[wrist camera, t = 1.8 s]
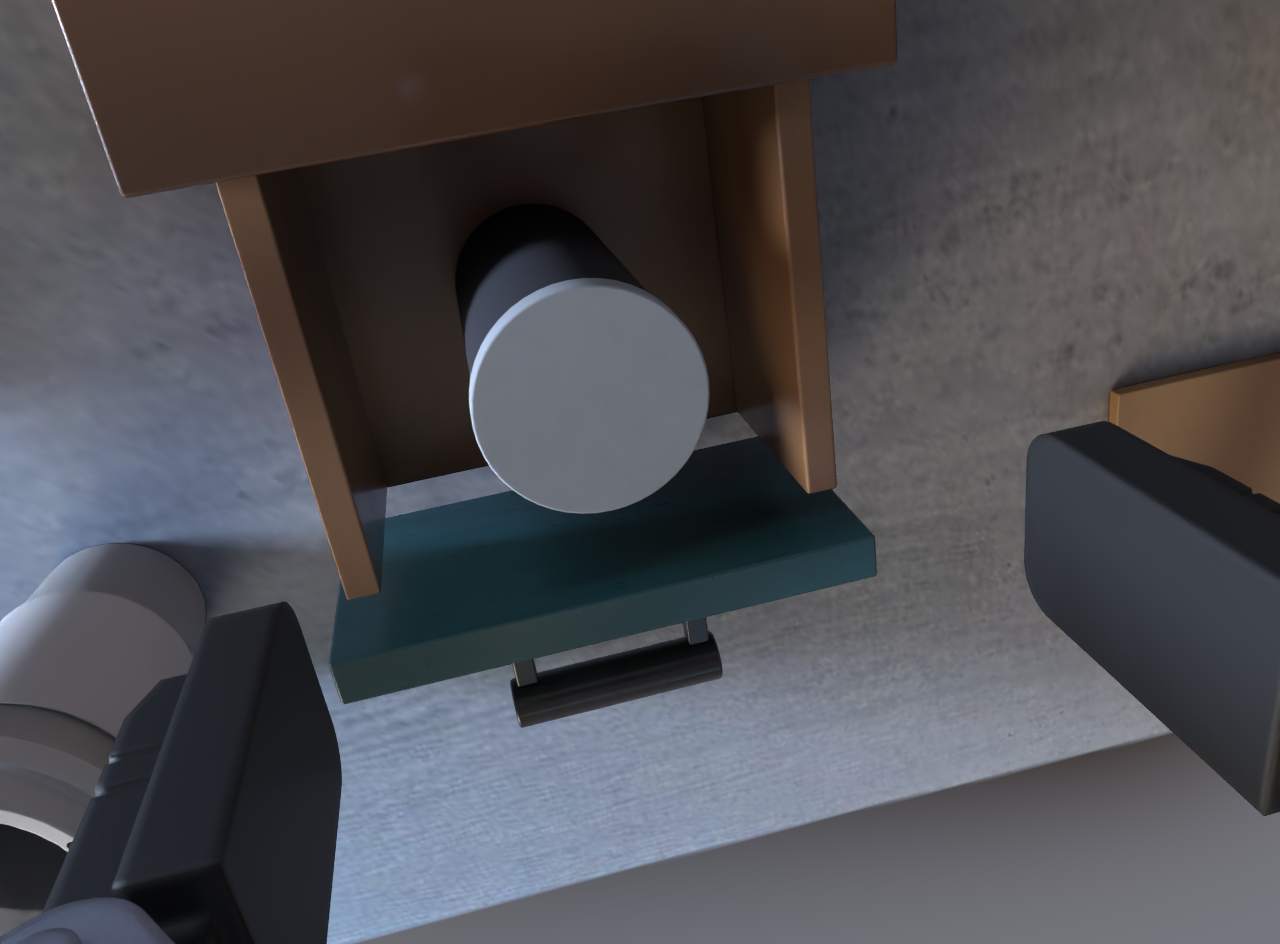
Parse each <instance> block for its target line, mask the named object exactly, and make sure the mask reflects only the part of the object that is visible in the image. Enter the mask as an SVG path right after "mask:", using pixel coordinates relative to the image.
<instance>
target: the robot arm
mask: <svg viewBox="0 0 1280 944" xmlns="http://www.w3.org/2000/svg"><path fill="white" fill-rule="evenodd" d="M1024 564H1025V572H1026V577H1027V581H1028V584H1029V587H1030V590H1031V592H1032V594H1033V596H1034V599H1035V601H1036V602H1037V604H1038V606H1039V607H1040V608H1041V610H1042V611H1043V612H1044V613H1045V614H1046V616H1047V617H1048V618H1050V619H1051V620H1052V621H1053V622H1054V623H1055V624H1056V625H1057V626H1058V627H1059V628H1060V629H1061V630H1063V631H1064V632H1065V633H1066V634H1067V635H1068V636H1069V637H1070V638H1071V639H1072V640H1073V641H1074V642H1076V643H1077V644H1078V645H1079V646H1080V647H1081V648H1082V649H1083V650H1084V651H1085V652H1086V653H1087V654H1089V655H1090V656H1091V657H1092V658H1093V659H1094V660H1095V661H1096V662H1097V663H1098V664H1099V665H1101V666H1102V667H1103V668H1104V669H1105V670H1106V671H1107V672H1108V673H1109V674H1110V675H1111V676H1112V677H1114V678H1115V679H1116V680H1117V681H1118V682H1119V683H1120V684H1121V685H1122V686H1123V687H1124V688H1125V689H1127V690H1128V691H1129V692H1130V693H1131V694H1132V695H1133V696H1134V697H1135V698H1136V699H1137V700H1138V701H1140V702H1141V703H1142V704H1143V705H1144V706H1145V707H1146V708H1147V709H1148V710H1149V711H1150V712H1151V713H1153V714H1154V715H1155V716H1156V717H1157V718H1158V719H1159V720H1160V721H1161V722H1162V723H1163V724H1164V725H1166V726H1167V727H1168V728H1169V729H1170V730H1171V731H1172V732H1173V733H1174V734H1175V735H1176V736H1178V737H1179V738H1180V739H1181V740H1182V741H1183V742H1184V743H1185V744H1186V745H1187V746H1188V747H1189V748H1191V749H1192V750H1193V751H1194V752H1195V753H1196V754H1197V755H1198V756H1199V757H1200V758H1201V759H1202V760H1204V761H1205V762H1206V763H1207V764H1208V765H1209V766H1210V767H1211V768H1212V769H1213V770H1214V771H1216V772H1217V773H1218V774H1219V775H1220V776H1221V777H1222V778H1223V779H1224V780H1225V781H1226V782H1227V783H1228V784H1230V785H1231V786H1232V787H1233V788H1234V789H1235V790H1236V791H1237V792H1238V793H1239V794H1240V795H1242V796H1243V797H1244V798H1245V799H1246V800H1247V801H1248V802H1249V803H1250V804H1251V805H1252V806H1253V807H1254V808H1256V809H1257V810H1258V811H1259V812H1260V813H1261V814H1262V815H1263V816H1266V815H1270V814H1273V813H1277V812H1280V504H1279V503H1278V502H1276V501H1274V500H1272V499H1270V498H1268V497H1267V496H1265V495H1263V494H1261V493H1257V494H1253V492H1252V488H1250V487H1248V486H1246V485H1245V484H1243V483H1241V482H1239V481H1237V480H1235V479H1234V478H1232V477H1230V476H1228V475H1226V474H1224V473H1223V472H1221V471H1219V470H1217V469H1215V468H1213V467H1210V466H1207V465H1203V464H1200V463H1196V462H1193V461H1189V460H1186V459H1182V458H1179V457H1175V456H1172V455H1169V454H1167V453H1165V452H1163V451H1162V450H1160V449H1158V448H1156V447H1155V446H1153V445H1151V444H1149V443H1147V442H1146V441H1144V440H1142V439H1140V438H1138V437H1137V436H1135V435H1133V434H1131V433H1130V432H1128V431H1126V430H1124V429H1122V428H1121V427H1119V426H1117V425H1115V424H1113V423H1111V422H1107V421H1101V422H1096V423H1091V424H1087V425H1082V426H1078V427H1073V428H1069V429H1065V430H1060V431H1056V432H1051V433H1047V434H1042V435H1039V436H1037V437H1036V438H1035V439H1034V440H1033V441H1032V443H1031V444H1030V447H1029V450H1028V454H1027V467H1026V508H1025V548H1024ZM108 758H109V764H106V765H105V766H104V768H103V770H102V773H101V775H100V777H99V780H98V782H97V785H96V787H95V789H94V791H95V798H91V799H90V801H89V803H88V806H87V808H86V811H85V813H84V815H83V818H82V820H81V822H80V825H79V827H78V829H77V832H76V834H75V837H74V839H73V841H72V844H71V846H70V848H69V851H68V853H67V855H66V858H65V860H64V863H63V865H62V867H61V870H60V872H59V874H58V877H57V879H56V881H55V884H54V886H53V889H52V891H51V893H50V896H49V898H48V900H47V903H46V905H45V907H44V910H43V912H42V913H41V914H39V915H37V916H35V917H33V918H31V919H29V920H27V921H25V922H23V923H21V924H20V925H18V926H16V927H15V928H13V929H11V930H10V931H8V932H6V933H5V934H4V935H2V936H1V937H0V944H326V943H327V932H328V922H329V912H330V901H331V891H332V881H333V870H334V860H335V850H336V839H337V829H338V819H339V808H340V798H341V787H342V773H341V761H340V754H339V748H338V742H337V738H336V733H335V730H334V726H333V723H332V720H331V717H330V714H329V711H328V708H327V705H326V702H325V699H324V696H323V693H322V690H321V687H320V684H319V681H318V678H317V675H316V672H315V669H314V666H313V663H312V660H311V658H310V655H309V652H308V649H307V646H306V643H305V640H304V637H303V634H302V631H301V628H300V625H299V622H298V620H297V617H296V615H295V613H294V611H293V609H292V607H291V606H290V605H289V604H288V603H287V602H280V603H276V604H271V605H267V606H262V607H258V608H253V609H249V610H244V611H240V612H235V613H231V614H226V615H222V616H217V617H213V618H210V619H208V620H207V621H206V623H205V626H204V628H203V631H202V634H201V637H200V640H199V642H198V645H197V648H196V651H195V654H194V657H193V659H192V662H191V665H190V668H189V671H188V673H187V674H184V675H180V676H175V677H171V678H167V679H162V680H160V681H159V682H158V683H157V684H156V686H155V687H154V688H153V689H152V690H151V691H150V692H149V693H148V694H147V695H146V696H145V697H144V698H143V699H142V700H141V701H140V702H139V703H138V704H137V705H136V707H135V708H134V709H133V710H132V711H131V712H130V713H129V714H128V715H127V716H126V717H125V718H124V721H123V723H122V725H121V728H120V730H119V733H118V735H117V737H116V740H115V742H114V744H113V747H112V749H111V751H110V754H109V756H108Z"/></svg>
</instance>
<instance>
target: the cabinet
mask: <svg viewBox="0 0 1280 944" xmlns="http://www.w3.org/2000/svg"><path fill="white" fill-rule="evenodd" d="M51 2H52V4H53V7H54V10H55V13H56V16H57V19H58V21H59V24H60V27H61V30H62V33H63V35H64V38H65V41H66V44H67V47H68V49H69V52H70V55H71V58H72V61H73V63H74V66H75V69H76V72H77V75H78V77H79V80H80V83H81V86H82V89H83V91H84V94H85V97H86V100H87V103H88V105H89V108H90V111H91V114H92V117H93V119H94V122H95V125H96V128H97V131H98V133H99V136H100V139H101V142H102V145H103V147H104V150H105V153H106V156H107V159H108V162H109V164H110V167H111V170H112V173H113V176H114V178H115V181H116V184H117V187H118V190H119V192H120V194H121V195H122V196H123V197H125V198H130V197H136V196H142V195H147V194H153V193H159V192H164V191H170V190H176V189H182V188H187V187H193V186H199V185H205V184H210V183H216V182H222V181H228V180H233V179H239V178H245V177H250V176H256V175H262V174H268V173H273V172H279V171H285V170H291V169H296V168H302V167H308V166H314V165H319V164H325V163H331V162H336V161H342V160H348V159H354V158H359V157H365V156H371V155H377V154H382V153H388V152H394V151H400V150H405V149H411V148H417V147H422V146H428V145H434V144H440V143H445V142H451V141H457V140H463V139H468V138H474V137H480V136H485V135H491V134H497V133H503V132H508V131H514V130H520V129H526V128H531V127H537V126H543V125H549V124H554V123H560V122H566V121H571V120H577V119H583V118H589V117H594V116H600V115H606V114H612V113H617V112H623V111H629V110H635V109H640V108H646V107H652V106H657V105H663V104H669V103H675V102H680V101H686V100H692V99H698V98H703V97H709V96H715V95H721V94H726V93H732V92H738V91H743V90H749V89H755V88H761V87H766V86H772V85H778V84H784V83H789V82H795V81H801V80H807V79H812V78H818V77H824V76H829V75H835V74H841V73H847V72H852V71H858V70H864V69H870V68H875V67H881V66H887V65H893V64H894V63H896V62H897V31H896V1H895V0H51Z"/></svg>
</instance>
